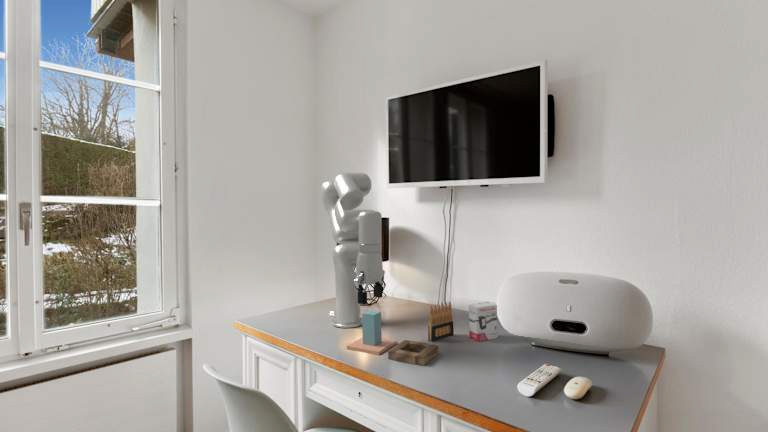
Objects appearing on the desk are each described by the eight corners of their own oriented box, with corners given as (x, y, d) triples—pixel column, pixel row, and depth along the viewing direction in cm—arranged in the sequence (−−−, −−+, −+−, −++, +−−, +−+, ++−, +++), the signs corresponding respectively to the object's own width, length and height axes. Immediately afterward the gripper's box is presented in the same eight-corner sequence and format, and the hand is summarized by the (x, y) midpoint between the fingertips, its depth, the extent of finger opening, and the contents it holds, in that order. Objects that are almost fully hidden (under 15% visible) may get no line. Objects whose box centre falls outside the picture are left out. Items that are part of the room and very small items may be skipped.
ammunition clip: (431, 341, 134) (431, 306, 134) (428, 340, 136) (427, 305, 135) (453, 335, 141) (453, 301, 140) (450, 334, 142) (449, 300, 142)
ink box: (477, 342, 133) (477, 307, 133) (468, 338, 137) (468, 303, 137) (498, 338, 136) (497, 304, 136) (488, 334, 141) (488, 301, 141)
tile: (346, 348, 129) (346, 345, 129) (366, 338, 139) (366, 335, 139) (378, 355, 123) (378, 351, 123) (396, 343, 133) (396, 340, 133)
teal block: (362, 343, 130) (362, 313, 130) (370, 339, 134) (369, 310, 134) (374, 346, 128) (373, 315, 128) (381, 341, 132) (381, 311, 132)
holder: (387, 359, 119) (387, 350, 119) (405, 347, 129) (405, 339, 129) (423, 366, 113) (423, 357, 113) (438, 353, 123) (438, 345, 123)
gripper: (374, 245, 140) (374, 293, 141) (345, 251, 125) (345, 305, 126) (392, 246, 136) (392, 295, 137) (365, 253, 121) (366, 308, 122)
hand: (370, 300), depth 132 cm, fingers open, 9 cm apart
